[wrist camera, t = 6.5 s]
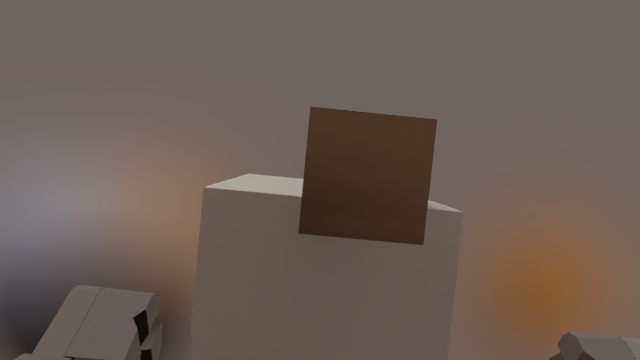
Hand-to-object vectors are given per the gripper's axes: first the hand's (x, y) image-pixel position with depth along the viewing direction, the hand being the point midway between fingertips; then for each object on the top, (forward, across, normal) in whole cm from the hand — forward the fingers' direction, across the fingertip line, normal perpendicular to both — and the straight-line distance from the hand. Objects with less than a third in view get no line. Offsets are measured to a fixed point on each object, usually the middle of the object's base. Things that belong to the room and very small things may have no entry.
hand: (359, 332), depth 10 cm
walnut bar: (+16, 0, +8) cm, 18 cm away
